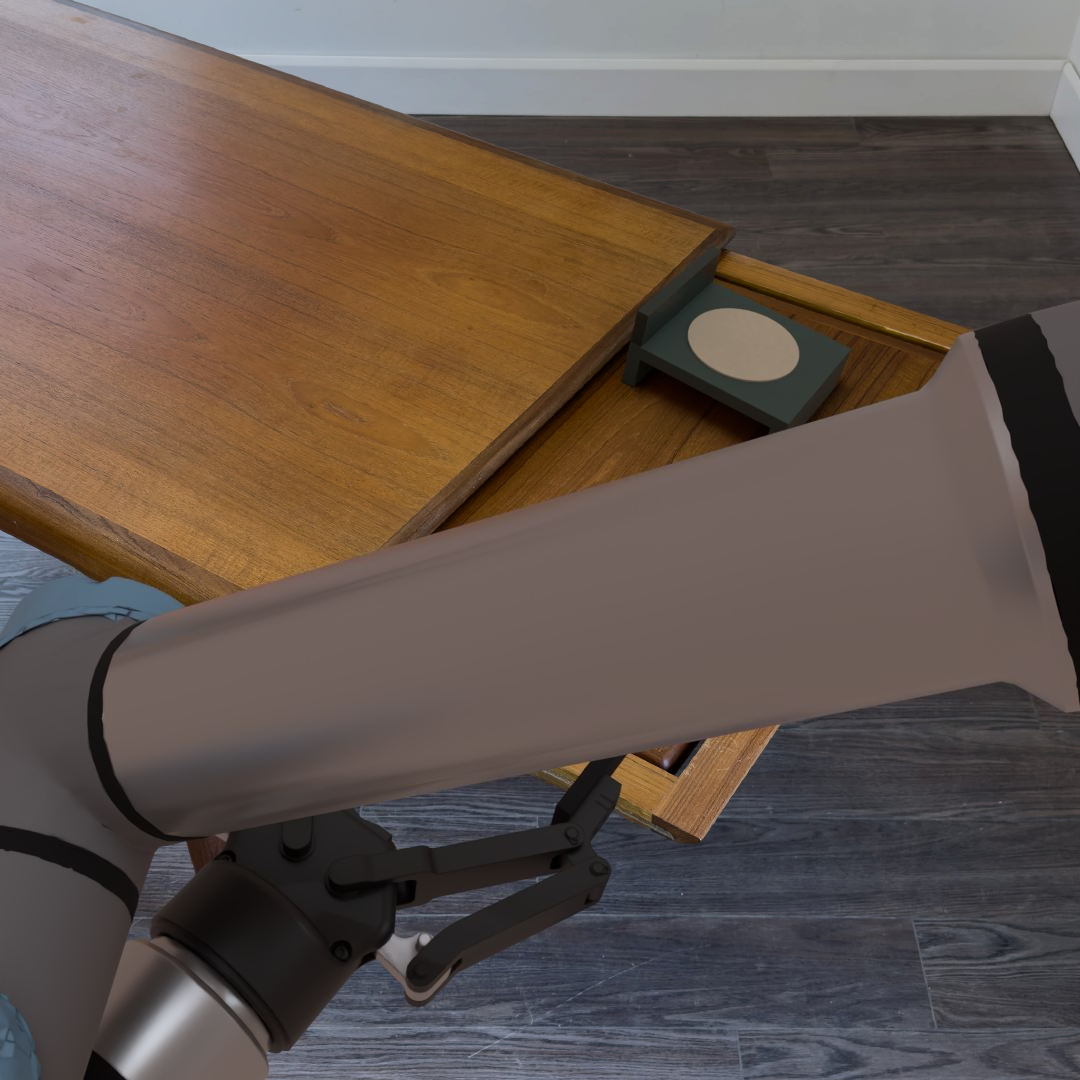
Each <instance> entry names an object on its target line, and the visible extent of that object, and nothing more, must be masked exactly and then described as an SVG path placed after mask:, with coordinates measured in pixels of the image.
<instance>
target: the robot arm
mask: <svg viewBox="0 0 1080 1080" xmlns="http://www.w3.org/2000/svg"><path fill="white" fill-rule="evenodd" d="M999 682H1000V683H1001V682H1002V683H1007V684H1012V685H1013V684H1014V686H1017V687H1018V688H1020V689H1022V690H1024V691H1026V692H1027V693H1029V694H1031V695H1033V696H1034V697H1036V698H1038V699H1040V700H1042V701H1044V702H1046V703H1048V704H1049V705H1050V706H1053V707H1055V708H1057V709H1059V710H1060V711H1061V712H1064V713H1065V714H1067V713H1068V714H1069V713H1073V712H1080V299H1078V300H1074V301H1070V302H1065V303H1063V304H1059V305H1055V306H1051V307H1047V308H1043V309H1039V310H1035V311H1031V312H1028V313H1027V314H1024V315H1020V316H1017V317H1014V318H1010V319H1007V320H1004V321H1001V322H997V323H995V324H990V325H988V326H984V327H981V328H978V329H975V330H970V331H968V332H965V333H962V334H959V335H957V337H956V339H955V341H954V342H953V343H952V345H951V346H950V348H949V350H948V351H947V353H946V355H944V357H943V359H942V361H941V363H940V364H939V365H938V367H937V368H936V371H935V372H934V374H933V375H932V377H931V378H930V379H929V380H928V381H926V383H925V384H924V385H922V387H921V388H920V389H919V390H916V391H912V392H910V393H905V394H902V395H899V396H895V397H893V398H889V399H886V400H881V401H879V402H876V403H872V404H869V405H865V406H862V407H858V408H855V409H851V410H848V411H844V412H842V413H838V414H834V415H832V416H828V417H824V418H820V419H818V420H815V421H811V422H808V423H807V422H806V423H805V424H804V425H801V426H797V427H794V428H790V429H787V430H784V431H780V432H777V433H773V434H770V435H768V434H767V435H764V436H760V437H757V438H754V439H750V440H747V441H744V442H740V443H736V444H733V445H729V446H726V447H723V448H720V449H716V450H713V451H709V452H706V453H703V454H699V455H696V456H692V457H689V458H686V459H682V460H678V461H676V462H673V463H669V464H666V465H662V466H659V467H655V468H652V469H649V470H645V471H641V472H639V473H635V474H632V475H628V476H624V477H622V478H618V479H615V480H611V481H608V482H605V483H601V484H598V485H594V486H590V487H588V488H587V487H586V488H585V489H580V490H578V491H575V492H571V493H567V494H564V495H560V496H557V497H554V498H550V499H547V500H543V501H540V502H537V503H533V504H530V505H527V506H522V507H520V508H516V509H513V510H509V511H507V512H503V513H500V514H496V515H493V516H489V517H486V518H482V519H480V520H479V519H478V520H475V521H472V522H469V523H466V524H462V525H459V526H456V527H452V528H449V529H445V530H442V531H438V532H435V533H432V534H428V535H425V536H422V537H419V538H415V539H412V540H408V541H405V542H402V543H398V544H394V545H392V546H391V545H390V546H388V547H385V548H381V549H378V550H374V551H371V552H368V553H363V554H361V555H357V556H354V557H350V558H347V559H343V560H341V561H336V562H334V563H330V564H326V565H323V566H320V567H316V568H313V569H310V570H307V571H303V572H300V573H296V574H293V575H290V576H286V577H283V578H280V579H277V580H272V581H270V582H266V583H262V584H259V585H256V586H252V587H249V588H245V589H242V590H239V591H236V592H233V593H232V592H231V593H229V594H226V595H225V594H224V595H222V596H219V597H215V598H211V599H208V600H206V601H202V602H197V603H195V604H191V605H188V606H185V605H184V604H183V603H181V602H180V601H179V600H177V599H176V598H174V596H171V595H170V594H168V593H166V592H164V591H162V590H161V589H158V588H156V587H154V586H151V585H149V584H145V583H143V582H139V581H136V580H135V579H131V578H126V577H120V576H111V577H109V578H108V579H106V580H103V581H96V580H94V579H93V578H90V577H89V576H87V575H84V574H74V575H68V576H64V577H58V578H54V579H52V580H49V581H47V582H44V583H43V584H40V585H39V586H37V587H35V588H33V589H32V590H31V591H30V592H28V594H26V595H25V596H24V597H23V598H22V599H21V600H20V601H19V602H18V604H17V605H16V606H15V607H14V609H13V610H12V612H11V614H10V616H9V618H8V620H7V621H6V623H5V624H4V627H3V629H2V631H0V1080H267V1078H268V1077H269V1074H270V1064H269V1060H268V1055H267V1053H270V1054H280V1053H282V1052H289V1051H290V1050H292V1048H293V1047H294V1045H295V1044H296V1043H297V1042H298V1041H299V1040H300V1039H301V1037H302V1036H303V1035H304V1034H305V1032H306V1031H307V1030H308V1029H309V1028H310V1026H311V1025H312V1024H313V1023H314V1022H315V1020H316V1019H317V1018H318V1016H319V1015H320V1014H321V1013H322V1012H323V1011H324V1009H325V1008H326V1007H327V1005H329V1003H330V1002H331V1001H332V1000H333V999H334V997H335V996H336V995H337V994H338V993H339V991H340V990H341V989H342V988H343V986H344V985H345V984H346V983H347V982H348V980H349V979H350V977H351V976H352V975H353V974H354V973H355V972H356V971H357V970H359V969H360V968H361V967H363V966H365V965H367V964H368V963H371V962H373V961H376V960H377V962H378V963H380V965H381V966H383V967H384V969H386V971H387V972H388V973H390V974H391V975H392V977H393V978H394V979H396V981H397V982H398V983H400V984H401V986H402V987H403V995H404V1000H405V1001H406V1002H407V1004H408V1005H410V1006H411V1007H414V1008H423V1007H425V1006H426V1005H428V1004H429V1003H430V1002H431V1001H432V1000H434V999H435V997H436V996H437V995H438V994H439V993H440V992H441V991H442V989H444V988H445V987H446V986H447V985H448V984H449V982H450V981H451V980H452V979H453V978H454V977H455V976H456V975H457V974H458V973H461V972H462V971H464V970H466V969H468V968H470V967H472V966H475V965H476V964H478V963H480V962H482V961H484V960H486V959H488V958H490V957H492V956H495V955H496V954H499V953H500V952H503V951H504V950H506V949H508V948H511V947H512V946H514V945H517V944H518V943H520V942H523V941H524V940H527V939H528V938H530V937H532V936H535V935H537V934H539V933H540V932H543V931H544V930H547V929H549V928H550V927H553V926H554V925H555V926H556V925H557V924H559V923H561V922H562V921H565V920H567V919H569V918H571V917H573V916H574V915H577V914H579V913H580V912H583V911H586V910H587V909H589V908H591V907H593V906H595V905H597V904H598V903H600V901H601V899H602V897H603V894H604V892H605V890H606V887H607V885H608V882H609V879H610V877H611V875H612V867H611V863H610V862H609V861H608V859H606V858H605V857H602V856H599V855H598V854H597V852H596V851H595V850H594V848H593V846H592V843H591V842H592V841H593V840H594V838H595V836H596V835H597V834H598V832H599V831H600V830H601V828H602V827H603V826H604V824H605V823H606V822H607V820H608V819H609V818H610V816H611V815H612V813H613V812H614V810H615V809H616V806H617V803H618V801H619V798H620V796H621V792H622V787H623V783H621V782H620V781H618V780H616V779H615V778H614V777H612V775H614V773H615V772H616V770H617V769H618V768H619V766H620V765H621V764H622V762H623V761H624V760H625V758H626V757H627V756H628V755H630V754H637V753H641V752H647V751H652V750H657V749H661V748H666V747H667V748H668V747H672V746H676V745H682V744H686V743H692V742H697V741H702V740H707V739H712V738H718V737H722V736H728V735H733V734H737V733H745V732H749V731H753V730H759V729H763V728H764V729H765V728H769V727H773V726H778V725H779V726H780V725H784V724H789V723H795V722H799V721H805V720H810V719H815V718H820V717H825V716H831V715H836V714H841V713H846V712H851V711H857V710H861V709H866V708H872V707H876V706H883V705H887V704H892V703H897V702H903V701H908V700H912V699H916V698H923V697H928V696H933V695H937V694H943V693H948V692H954V691H958V690H963V689H964V690H965V689H969V688H974V687H979V686H983V685H984V686H985V685H989V684H990V685H991V684H994V683H999ZM585 763H587V765H586V766H585V767H584V768H583V770H582V771H581V772H580V774H579V775H578V777H577V778H576V779H575V780H574V781H573V783H572V784H571V785H570V787H569V788H568V789H567V790H566V792H565V793H564V794H563V795H562V797H561V798H560V799H559V801H558V802H557V804H556V805H555V808H554V811H553V814H552V818H551V822H550V825H545V826H540V827H536V828H530V829H525V830H519V831H515V832H509V833H505V834H499V835H494V836H488V837H482V838H478V839H473V840H467V841H462V842H458V843H452V844H447V845H442V846H436V847H430V846H428V845H424V844H421V845H415V846H408V847H403V848H399V849H398V848H397V846H396V844H395V843H394V841H393V834H392V833H390V832H389V831H388V830H387V829H385V828H383V826H381V825H379V824H377V823H375V822H372V821H370V820H367V819H365V818H363V817H362V816H361V815H360V814H359V813H358V812H357V810H356V808H359V807H364V806H369V805H376V804H380V803H386V802H390V801H396V800H400V799H406V798H410V797H416V796H421V795H426V794H432V793H436V792H441V791H446V790H447V791H448V790H452V789H456V788H461V787H462V788H463V787H467V786H472V785H478V784H482V783H483V784H484V783H488V782H493V781H497V780H498V781H499V780H503V779H508V778H514V777H519V776H523V775H528V774H529V775H530V774H534V773H538V772H544V771H550V770H554V769H560V768H564V767H569V766H575V765H580V764H585ZM212 836H215V837H217V838H218V839H220V840H221V841H224V842H225V843H224V846H223V847H222V848H221V850H220V851H219V853H218V854H217V855H216V856H214V857H213V858H212V859H211V860H209V861H208V862H207V863H206V864H205V865H203V867H202V868H201V869H200V870H199V871H197V872H196V874H194V875H193V877H192V878H191V879H189V881H188V882H186V884H185V885H184V886H183V887H182V888H181V889H179V891H178V892H177V893H176V894H175V895H174V896H172V898H171V899H170V900H168V902H167V903H165V905H164V906H163V907H162V908H161V909H159V911H158V912H156V914H155V915H154V916H153V917H152V918H151V926H150V928H149V935H150V939H151V940H150V941H149V940H145V939H131V940H129V941H127V939H128V936H129V933H130V930H131V927H132V924H133V921H134V918H135V916H136V912H137V909H138V906H139V900H140V897H141V894H142V891H143V888H144V887H145V886H144V885H145V883H146V879H147V877H148V873H149V871H150V868H151V865H152V862H153V860H154V856H155V853H156V852H157V851H158V850H159V848H163V847H168V846H174V845H178V844H181V843H184V842H190V841H196V840H202V839H207V838H209V837H212ZM548 875H550V876H549V877H546V878H544V879H542V880H539V881H537V882H535V883H534V884H532V885H530V886H527V887H525V888H523V889H521V890H519V891H517V892H515V893H513V894H511V895H509V896H507V897H504V898H502V899H500V900H497V901H495V902H493V903H492V904H489V905H487V906H485V907H483V908H481V909H479V910H477V911H475V912H473V913H470V914H468V915H466V916H464V917H463V918H460V919H458V920H455V922H453V923H451V924H448V926H446V927H445V928H443V929H442V930H440V931H439V932H437V934H436V935H434V934H432V933H430V932H426V931H421V932H418V933H416V934H414V935H413V936H411V937H400V936H398V935H397V934H396V933H395V931H396V919H397V918H396V915H397V911H400V910H406V909H410V908H416V907H420V906H423V905H426V904H428V903H430V902H432V900H434V899H437V898H442V897H446V896H450V895H451V896H453V895H456V894H461V893H465V892H470V891H471V892H472V891H476V890H481V889H485V888H489V887H490V888H491V887H496V886H501V885H505V884H510V883H514V882H519V881H524V880H531V879H534V878H539V877H543V876H548Z"/></svg>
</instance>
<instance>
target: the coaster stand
mask: <svg viewBox="0 0 1080 1080" xmlns="http://www.w3.org/2000/svg"><path fill="white" fill-rule="evenodd" d="M721 255H722V250H721V249H719V248H717V247H715V246H712V245H711V246H709V247H708V248H707V249H706V250H705V251H704V252H702V253H701V254H700V255H699V256H698V257H697V258H696V259H694V260H693V262H691V263H690V264H689V265H688V266H687V267H685V268H684V269H683V270H682V271H681V272H680V273H678V274H677V275H676V276H675V277H674V278H673V279H672V280H670V281H669V282H668V283H667V284H666V285H665V286H663V288H661V289H660V290H659V291H658V292H657V293H656V294H654V295H653V296H652V297H651V298H650V299H649V300H648V301H647V302H646V303H643V305H642V306H641V307H640V308H639V309H637V311H636V315H635V319H634V324H633V328H632V332H631V335H630V336H631V337H630V341H629V342H630V343H629V347H628V351H627V354H626V359H625V364H624V366H623V367H624V368H623V371H622V375H621V376H622V377H621V382H623V383H625V384H627V385H629V386H631V387H632V388H634V387H636V386H637V384H638V383H640V381H642V380H643V379H644V378H645V377H646V376H647V375H648V374H649V373H650V372H651V371H652V370H653V369H656V370H659V371H660V372H662V373H664V374H666V375H668V376H670V377H672V378H674V379H675V380H677V381H679V382H681V383H684V384H685V385H687V386H689V387H691V388H693V389H694V390H696V391H698V392H701V393H702V394H704V395H706V396H708V397H710V398H712V399H714V400H716V401H717V402H720V403H721V404H723V405H726V406H727V407H729V408H731V409H733V410H735V411H737V412H739V413H741V414H743V415H744V416H747V417H748V418H750V419H752V420H754V421H755V422H758V423H760V424H762V425H763V426H765V427H767V428H769V431H768V433H767V435H770V434H773V433H777V432H780V431H784V430H787V429H790V428H794V427H797V426H801V425H804V424H807V422H808V421H809V420H810V418H811V417H812V416H813V415H814V414H815V412H816V411H817V410H818V409H819V407H820V406H821V405H822V404H823V403H824V402H825V401H826V399H827V398H828V397H829V395H830V394H832V392H833V390H834V389H835V388H836V387H837V385H838V384H839V381H840V378H841V375H842V374H843V371H844V369H845V366H846V364H847V361H848V359H849V357H850V354H851V353H852V348H851V347H849V346H848V345H845V344H843V343H841V342H839V341H838V340H837V341H836V340H835V339H833V338H830V337H829V336H826V335H824V334H822V333H820V332H818V331H816V330H814V329H812V328H810V327H808V326H806V325H804V324H802V323H800V322H798V321H795V320H794V319H791V318H790V317H787V316H785V315H783V314H781V313H779V312H777V311H775V310H773V309H771V308H769V307H767V306H765V305H763V304H761V303H759V302H756V301H754V300H752V299H751V298H748V297H746V296H744V295H742V294H740V293H738V292H737V291H734V290H731V289H729V288H728V287H726V286H724V285H722V284H720V283H717V282H716V281H714V279H715V275H716V271H717V268H718V264H719V261H720V258H721Z"/></svg>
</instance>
